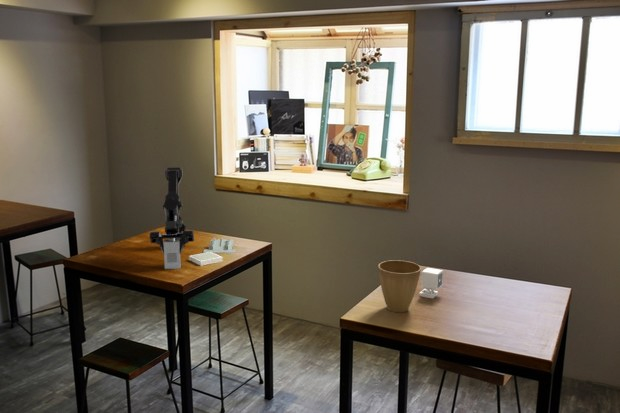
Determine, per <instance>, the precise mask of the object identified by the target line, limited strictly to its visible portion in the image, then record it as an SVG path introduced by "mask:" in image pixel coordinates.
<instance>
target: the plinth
mask: <svg viewBox="0 0 620 413" xmlns="http://www.w3.org/2000/svg"><path fill="white" fill-rule="evenodd" d="M188 260H189V261H190V262H192V263H194V264H196V265H198V266H201V267H202V266H205V265H211V264H215V263H221V262H223V261H224V256H221V255H219V254H218V253H212V252H206V253H203V252H201V253H198V254H192V255H189V256H188Z"/></svg>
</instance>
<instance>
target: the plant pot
mask: <svg viewBox="0 0 620 413" xmlns="http://www.w3.org/2000/svg"><path fill="white" fill-rule="evenodd" d="M377 268H378V275H379V282H380V288H381V292H382V297H383V299H384V302H385V305H386V308H387V310H389V311H390V312H393V313H405V312H407V311H409V308H410V307H411V304H412V301H413V299H414V297H415V294H416V290H417V286H418V284H419V283H418V282H419V280H420V277H421V276H420V275H421V272H422V271H421V270H422V267H421V266H420V265H419V264H417V263H415V262H412V261H406V260H398V259H396V260H395V259H393V260H385V261H382V262H380V263H378V267H377Z"/></svg>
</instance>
